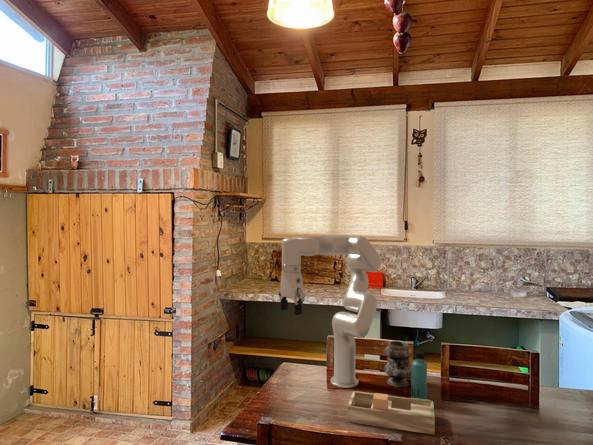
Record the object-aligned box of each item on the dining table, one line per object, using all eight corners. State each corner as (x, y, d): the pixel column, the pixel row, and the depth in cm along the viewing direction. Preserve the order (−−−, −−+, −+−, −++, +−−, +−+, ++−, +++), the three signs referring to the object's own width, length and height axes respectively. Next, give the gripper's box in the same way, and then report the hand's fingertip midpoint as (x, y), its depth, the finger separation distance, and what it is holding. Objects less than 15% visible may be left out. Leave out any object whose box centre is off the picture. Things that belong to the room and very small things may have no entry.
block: (374, 406, 151) (374, 392, 151) (388, 408, 149) (388, 394, 149) (372, 412, 146) (373, 398, 146) (387, 414, 145) (387, 400, 145)
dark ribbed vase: (414, 388, 177) (415, 347, 177) (387, 388, 177) (387, 347, 177) (407, 377, 189) (408, 339, 189) (381, 377, 189) (382, 338, 189)
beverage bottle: (427, 399, 166) (427, 350, 166) (427, 406, 160) (427, 355, 160) (411, 397, 168) (411, 348, 168) (409, 403, 162) (410, 353, 162)
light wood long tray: (353, 404, 161) (353, 390, 160) (433, 415, 152) (433, 400, 152) (347, 421, 147) (347, 405, 147) (434, 434, 139) (434, 417, 139)
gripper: (312, 270, 156) (311, 315, 156) (286, 266, 170) (286, 307, 170) (296, 272, 152) (295, 317, 152) (271, 267, 166) (271, 309, 166)
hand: (290, 312), depth 161 cm, fingers open, 9 cm apart
